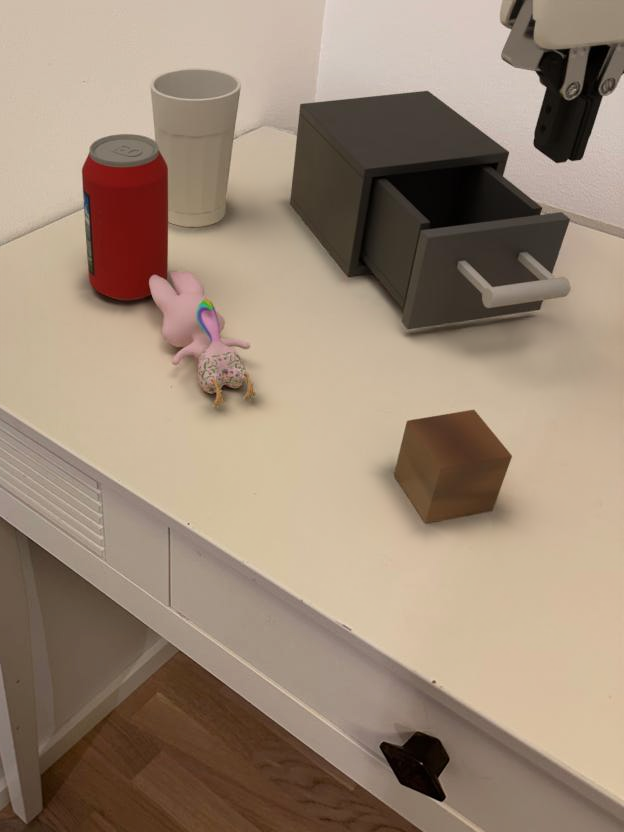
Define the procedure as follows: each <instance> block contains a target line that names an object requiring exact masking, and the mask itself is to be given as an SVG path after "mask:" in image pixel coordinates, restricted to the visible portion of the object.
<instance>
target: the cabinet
mask: <svg viewBox="0 0 624 832" xmlns="http://www.w3.org/2000/svg"><path fill="white" fill-rule="evenodd" d="M298 113H299V114H298V121H297V132H296V141H295V142H296V143H295V150H294V151H295V152H294V160H293V161H294V162H293V171H292V181H291V190H290V200H289V204H290V206H292V208H293V209H294V211H295V212H296V213H297V214H298V215H299V217H300V218H301V220H303V222H304V223H305V224H306V225H307V227H308V228H309V230H310V231H311V232H312V233H313V235H314V236H315V237H316V238H317V240H318V241H319V243H321V245H322V246H323V247H324V248H325V250H326V251H327V252H328V254H330V256H331V258H333V260H334V262H336V263H337V265H338V266H339V267H340V269H341V270H342V271H343V272H344V274H345V275H346V276H347V277H355V276H362V275H363V276H364V275H369V274H370V275H371V274H374V273H373V272H372V271H371V270H370V269H369V267H368V266H367V265H366V264H365V263H364V261H363V260H362V259H361V258H360V257H359V256H360V250H361V244H362V238H363V232H364V226H365V220H366V214H367V208H368V202H369V196H370V190H371V184H372V177H379V176H388V175H396V174H405V173H413V172H421V171H430V170H438V169H447V168H455V167H463V166H472V165H480V164H488V165H490V166H491V167H492V168H493V169H495V170H496V171H497V172H498V173H500V174H501V175H502V176H503V177H504V175H505V172H506V166H507V163H508V160H509V155H510V151H509V150H507V149H506V148H505V147H503V146H502V145H501V144H499V143H498V142H497V141H495V140H494V139H493V138H491V137H490V136H489V135H487V134H486V133H484V131H482V130H481V129H479V128H478V127H477V126H475V125H474V124H473V123H471V122H470V121H469V120H468V119H466V118H465V117H463V116H462V114H461V115H460V113H458V112H457V111H455V110H454V109H453V108H452V107H451V106H449V105H447V104H446V103H445V102H444V101H443V100H441V99H440V98H438V97H437V96H436V95H434V94H433V93H432V92H431V91H429V90H422V91H421V90H420V91H412V92H403V93H402V92H401V93H393V94H392V93H391V94H383V95H372V96H364V97H354V98H344V99H334V100H325V101H314V102H305V103H300V104H299V112H298Z"/></svg>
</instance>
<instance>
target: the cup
mask: <svg viewBox="0 0 624 832" xmlns="http://www.w3.org/2000/svg"><path fill="white" fill-rule="evenodd" d="M149 84H150V85H149V87H150V98H151V107H152V108H151V109H152V117H153V118H152V119H153V129H154V141H155V142H157V144H158V146H159V151H160V153H161V155H162V157H163V158H164V160H165V162H166V164H167V167H168V224H169V223H170V224H172V225H175V226H179V227H186V228H200V227H207V226H211V225H213V224H216V223H218V222H220V221H222V219H223V218H224V217H225V216H226V207H227V193H228V185H229V178H230V171H231V162H232V154H233V146H234V138H235V131H236V130H235V129H236V123H237V118H238V117H237V115H238V109H239V102H240V96H241V89H242V83H241V80H240V79H239V78H238V77H237V76H235V75H233V74H231V73H229V72H225V71H222V70H217V69H210V68H200V67H199V68H195V67H193V68H181V69H174V70H169V71H166V72H164V73H161V74H159V75H156V76H155V77H153V79H151V81H150V83H149Z"/></svg>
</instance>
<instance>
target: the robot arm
mask: <svg viewBox="0 0 624 832" xmlns="http://www.w3.org/2000/svg"><path fill="white" fill-rule="evenodd" d="M499 22H500V24H501V25H502V26H504V27H505V28H507V29H509V30H510V31H509V34H508V36H507V39H506V41H505V44H504V45H503V47H502V50H501V53H500V57H501V60H502V61H503V62H505V63H507V64H508V65H510V66H511V67H513V68H515V69H520V70H527V71H531V72H532V71H533V72H535V74H536V76H538V78H539V79H538V80H539V83H540V84H541V85H542V86H543V87H545V92H544V96H543V98H542V103H541V105H540V110H539V114H538V117H537V121H536V123H535V124H536V125H535V128H534V133H533V141H532V142H533V147H534V149H536V150H537V151H538V152H540V153H541V154H542V155H544V156H546V157H547V158H548V159H550V160H551V161H552V162H554V163H555V164H563V163H566V162H567V161H568V160H569V161H570V162H576V161H582V160H583V158H584V155H585V153H586V149H587V146H588V143H589V140H590V137H591V135H592V132H593V129H594V125H595V122H596V119H597V116H598V113H599V109H600V106H601V104H602V100H603V98H604V97H608V96H609V95H611V94H612V93H614V91H615V90H616V88H617V86H618V84H619V83H620V80H621V77H622V76H623V75H624V0H501V4H500V10H499Z"/></svg>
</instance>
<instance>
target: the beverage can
mask: <svg viewBox="0 0 624 832" xmlns="http://www.w3.org/2000/svg"><path fill="white" fill-rule="evenodd" d="M81 180H82V196H83V200H82V201H83V214H84V229H85V242H86V244H85V245H86V256H87V257H86V258H87V259H86V260H87V270H88V279H89V284H90V285H91V287H92V289H94V290H95V291H97V292H98V293H100V294H102V295H104V296H107V297H108V298H110V299H113V300H118V301H128V302H129V301H137V300H141V299H145V298H147V297H149V296H150V295H151V296H152V294H151V290H150V286H149V280H150V278H151V276H153V275H157V276H159V277H162V278H164V279H165V280H167V281H168V271H169V270H168V265H169V264H168V263H169V222H168V167H167V164H166V162H165V160H164V158H163V157H162V155H161V153H160V151H159V146H158V144H157V142H155V139H152V138H150V137H148V136H144V135H141V134H132V133H121V134H120V133H119V134H118V133H117V134H112V135H107V136H103V137H101V138H98V139H96V140H94V142H92V143H91V145H90V146H89V152H88V154H87V157H86V159H85V161H84V163H83V165H82V167H81Z"/></svg>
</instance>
